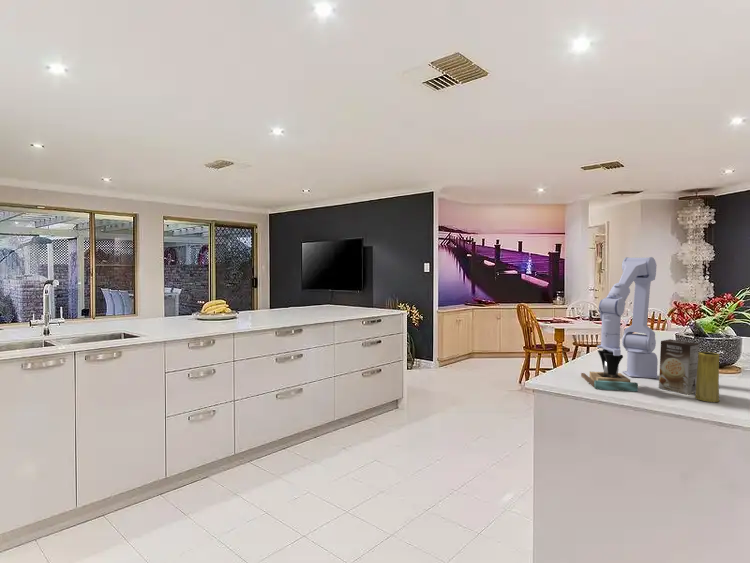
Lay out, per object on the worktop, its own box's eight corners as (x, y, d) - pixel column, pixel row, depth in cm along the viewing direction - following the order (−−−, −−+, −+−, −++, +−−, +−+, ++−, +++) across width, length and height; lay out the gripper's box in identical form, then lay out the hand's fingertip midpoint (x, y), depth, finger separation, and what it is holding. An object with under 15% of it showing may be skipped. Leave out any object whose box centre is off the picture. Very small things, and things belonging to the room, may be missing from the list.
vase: (723, 403, 137) (725, 355, 136) (700, 401, 138) (702, 354, 138) (713, 397, 143) (714, 351, 142) (691, 396, 144) (692, 350, 144)
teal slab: (618, 378, 167) (618, 371, 167) (637, 391, 149) (637, 383, 149) (581, 376, 169) (581, 369, 169) (595, 388, 151) (595, 381, 151)
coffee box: (657, 388, 153) (659, 340, 153) (667, 385, 157) (668, 339, 156) (688, 395, 145) (689, 344, 145) (697, 392, 149) (699, 343, 148)
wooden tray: (619, 381, 161) (620, 373, 161) (630, 388, 152) (630, 379, 152) (589, 379, 163) (589, 371, 163) (597, 387, 153) (597, 378, 153)
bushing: (613, 377, 159) (614, 360, 159) (620, 380, 155) (621, 363, 155) (600, 377, 159) (601, 359, 159) (607, 380, 155) (608, 362, 155)
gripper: (592, 330, 165) (591, 367, 165) (604, 335, 150) (603, 377, 151) (613, 330, 163) (612, 368, 164) (628, 336, 149) (626, 378, 149)
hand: (609, 372), depth 157 cm, fingers closed on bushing, 4 cm apart
